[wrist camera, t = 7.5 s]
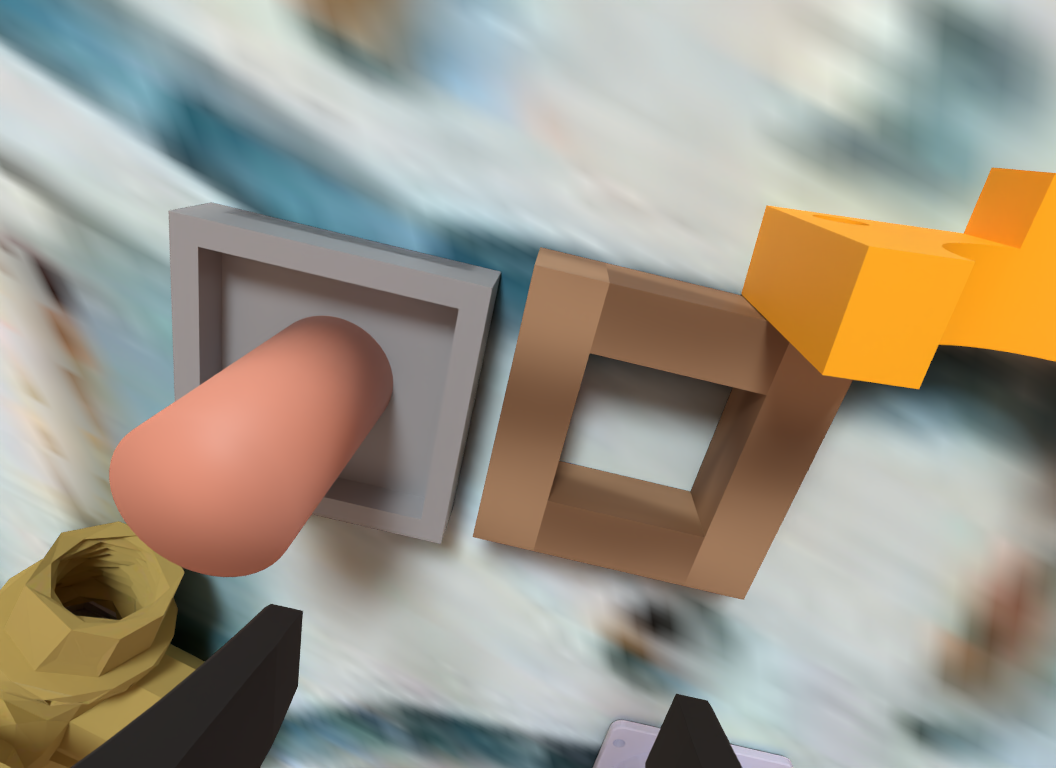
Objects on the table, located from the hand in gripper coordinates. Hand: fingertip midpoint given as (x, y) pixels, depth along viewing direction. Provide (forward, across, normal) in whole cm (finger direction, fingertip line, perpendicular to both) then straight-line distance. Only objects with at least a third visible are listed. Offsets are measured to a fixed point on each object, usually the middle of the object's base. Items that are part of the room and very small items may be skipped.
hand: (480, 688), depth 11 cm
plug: (+9, +7, -1) cm, 11 cm away
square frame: (+10, -4, -2) cm, 11 cm away
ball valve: (+10, +14, +14) cm, 22 cm away
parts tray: (+10, +6, -1) cm, 12 cm away
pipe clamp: (+10, -11, -9) cm, 18 cm away
